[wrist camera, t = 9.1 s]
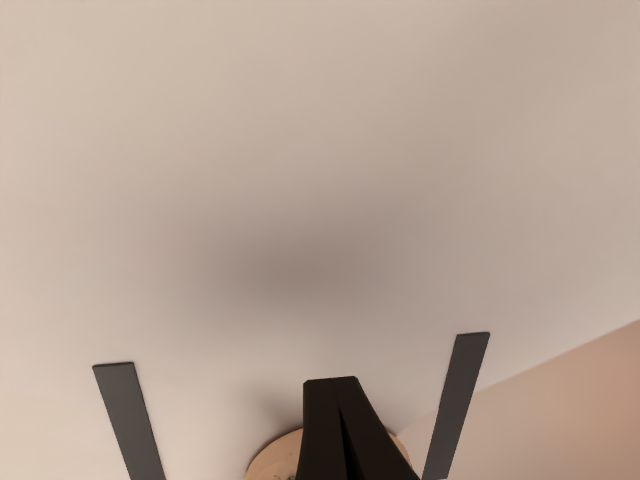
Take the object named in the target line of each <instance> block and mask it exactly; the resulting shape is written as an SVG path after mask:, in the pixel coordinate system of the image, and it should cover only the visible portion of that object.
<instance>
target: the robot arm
mask: <svg viewBox="0 0 640 480" xmlns="http://www.w3.org/2000/svg"><path fill="white" fill-rule="evenodd" d="M295 480H420V478H419V477H418V476H417V475H416V473H415V472H414V470H413V469H412V468H411V466H410V465H409V463H408V462H407V460H406V459H405V458H404V456H403V455H402V453H401V452H400V450H399V449H398V447H397V446H396V444H395V443H394V441H393V440H392V438H391V437H390V435H389V434H388V432H387V430H386V429H385V427H384V426H383V424H382V422H381V421H380V419H379V417H378V416H377V414H376V412H375V411H374V409H373V407H372V405H371V404H370V402H369V400H368V398H367V396H366V395H365V393H364V391H363V389H362V387H361V385H360V383H359V381H358V379H357V378H356V377H355V376H348V377H337V378H325V379H314V380H307V381H306V382H305V383H303V434H302V441H301V447H300V454H299V461H298V466H297V471H296V476H295Z"/></svg>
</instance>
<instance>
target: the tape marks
mask: <svg viewBox="0 0 640 480" xmlns="http://www.w3.org/2000/svg"><path fill="white" fill-rule="evenodd" d="M489 337H490V333H477V334H465V335H457V338H456V343H455V347H454V351H453V355H452V359H451V363H450V367H449V371H448V375H447V379H446V383H445V387H444V391H443V395H442V399H441V403H440V407H439V411H438V415H437V419H436V423H435V427H434V431H433V435H432V439H431V443H430V447H429V452H428V455H427V460H426V464H425V467H424V471H423V475H422V480H440V479H447V477H448V474H449V470H450V467H451V463H452V460H453V457H454V454H455V450H456V447H457V444H458V440H459V437H460V434H461V430H462V426H463V424H464V420H465V417H466V414H467V410H468V406H469V404H470V400H471V397H472V394H473V390H474V387H475V384H476V380H477V377H478V374H479V370H480V367H481V364H482V360H483V357H484V354H485V350H486V347H487V344H488V340H489ZM92 369H93V372H94V374H95V377H96V380H97V383H98V386H99V389H100V392H101V395H102V398H103V400H104V403H105V406H106V409H107V412H108V415H109V418H110V421H111V424H112V427H113V429H114V432H115V435H116V438H117V441H118V444H119V447H120V450H121V453H122V455H123V458H124V461H125V464H126V467H127V470H128V473H129V476H130V479H131V480H165V477H164V473H163V470H162V466H161V462H160V459H159V455H158V452H157V448H156V444H155V441H154V437H153V433H152V430H151V426H150V423H149V419H148V415H147V412H146V408H145V404H144V401H143V397H142V394H141V390H140V386H139V383H138V379H137V375H136V372H135V368H134V364H133V363H124V364H112V365H101V366H93V367H92Z"/></svg>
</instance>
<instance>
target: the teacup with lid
mask: <svg viewBox="0 0 640 480" xmlns="http://www.w3.org/2000/svg"><path fill="white" fill-rule="evenodd" d="M302 434H303V428H302V429H299V430H296V431H293V432H291V433H289V434H287V435H285V436H283V437H281V438H279V439H277V440H276V441H274V442H273V443H271V444H270V445H268V446H267V447H266V448H265V449H263V450H262V451H261V452H260V453H259V454H258V456H257V457H256V458H255V459H254V460H253V462H252V463H251V465H250V466H249V468H248V470H247V473H246V475H245V479H244V480H295V476H296V471H297V466H298V461H299V454H300V447H301V441H302ZM388 434H389V435H390V437H391V438H392V440H393V441H394V443H395V444H396V446H397V447H398V449H399V450H400V452H401V453H402V455H403V456H404V458H405V459H406V460H407V462H408V463H409V465H410V466H411V468H412V465H411V462H410V459H409V456H408V454H407V451H406V450H405V448H404V446H403V445H402V443H401V442H400V441H399V440H398V439H397V438H396V437H395V436H393V435H392V434H391V433H389V432H388Z"/></svg>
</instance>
